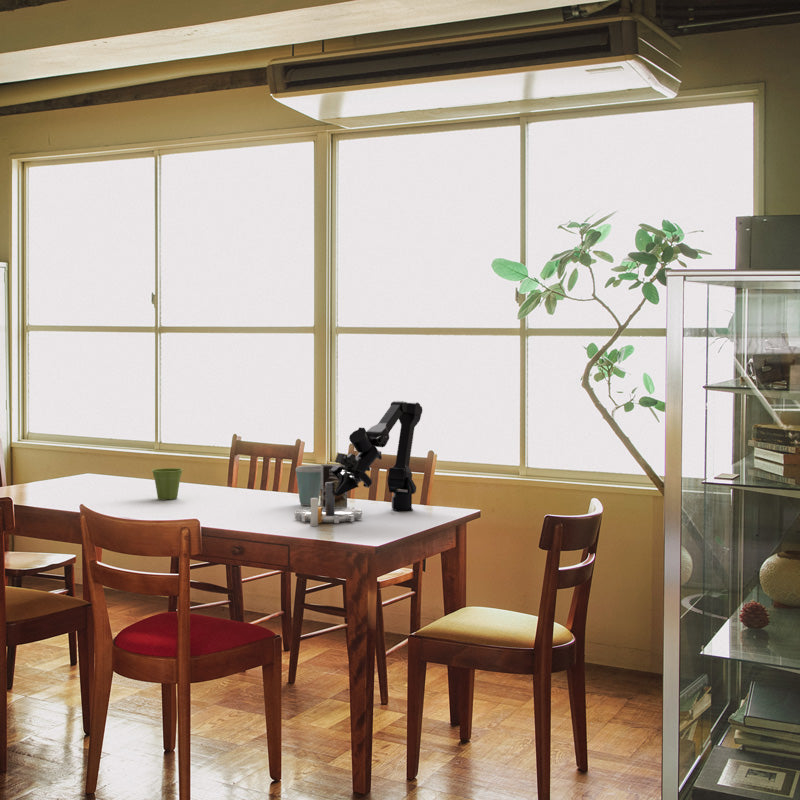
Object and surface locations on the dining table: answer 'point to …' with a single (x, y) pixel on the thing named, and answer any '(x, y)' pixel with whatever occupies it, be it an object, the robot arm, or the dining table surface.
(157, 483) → the plant pot
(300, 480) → the disposable coffee cup
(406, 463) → the robot arm
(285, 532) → the dining table surface
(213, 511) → the dining table surface
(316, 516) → the pointer post
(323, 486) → the coffee box
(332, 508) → the sprocket
